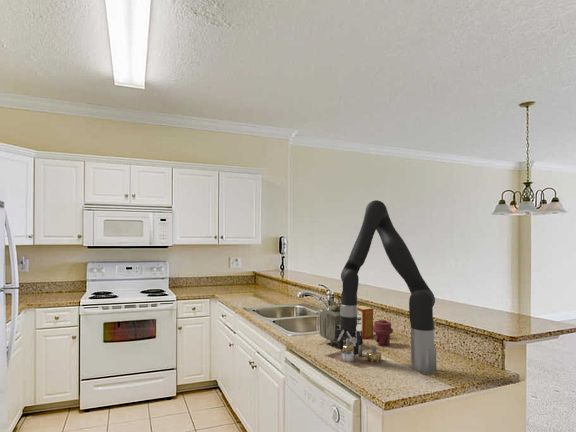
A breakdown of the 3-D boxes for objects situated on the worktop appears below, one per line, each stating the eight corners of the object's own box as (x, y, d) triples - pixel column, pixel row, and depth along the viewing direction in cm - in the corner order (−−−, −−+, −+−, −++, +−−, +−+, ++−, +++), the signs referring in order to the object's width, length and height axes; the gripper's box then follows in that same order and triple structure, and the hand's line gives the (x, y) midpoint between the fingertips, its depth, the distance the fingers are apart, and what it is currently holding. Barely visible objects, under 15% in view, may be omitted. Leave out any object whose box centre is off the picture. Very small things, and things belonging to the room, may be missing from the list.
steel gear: (358, 360, 171) (358, 353, 171) (349, 363, 167) (349, 355, 167) (348, 356, 175) (348, 349, 176) (338, 359, 171) (338, 352, 172)
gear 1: (357, 352, 182) (357, 341, 182) (348, 355, 178) (348, 344, 178) (347, 349, 186) (347, 338, 186) (338, 351, 182) (338, 341, 182)
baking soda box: (352, 335, 217) (352, 305, 218) (361, 333, 220) (361, 305, 221) (363, 339, 209) (363, 308, 209) (372, 337, 212) (372, 307, 212)
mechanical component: (396, 345, 198) (385, 349, 191) (380, 341, 205) (368, 344, 199) (396, 320, 198) (385, 323, 192) (380, 317, 206) (368, 320, 199)
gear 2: (382, 359, 172) (382, 352, 172) (379, 363, 166) (379, 356, 166) (368, 357, 175) (368, 350, 175) (365, 361, 169) (365, 354, 169)
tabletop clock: (350, 349, 190) (350, 297, 191) (336, 352, 185) (336, 298, 187) (331, 342, 202) (332, 293, 204) (317, 344, 198) (318, 294, 199)
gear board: (386, 363, 170) (386, 345, 171) (362, 371, 160) (362, 352, 160) (347, 351, 187) (347, 335, 187) (324, 357, 177) (324, 341, 177)
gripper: (367, 316, 169) (366, 354, 169) (342, 310, 180) (341, 346, 180) (355, 318, 164) (354, 357, 164) (331, 312, 175) (330, 349, 175)
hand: (348, 351), depth 172 cm, fingers open, 8 cm apart
